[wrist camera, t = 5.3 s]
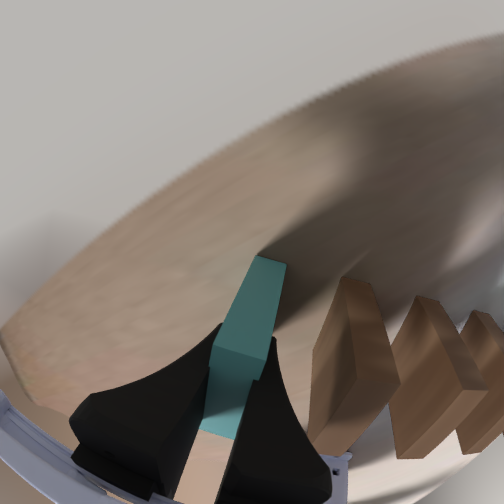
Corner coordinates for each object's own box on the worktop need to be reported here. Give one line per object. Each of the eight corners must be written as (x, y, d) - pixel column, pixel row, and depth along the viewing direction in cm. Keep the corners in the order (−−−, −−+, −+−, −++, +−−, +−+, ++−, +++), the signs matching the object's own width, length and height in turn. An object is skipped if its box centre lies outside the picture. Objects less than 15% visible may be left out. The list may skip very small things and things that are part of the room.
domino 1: (286, 264, 14) (266, 360, 8) (262, 339, 16) (234, 440, 10) (255, 255, 14) (212, 344, 8) (236, 332, 16) (197, 428, 10)
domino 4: (489, 314, 13) (539, 389, 7) (451, 373, 15) (480, 452, 9) (473, 310, 13) (524, 390, 7) (435, 371, 15) (462, 455, 9)
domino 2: (370, 284, 14) (401, 384, 8) (338, 355, 16) (340, 456, 10) (341, 276, 14) (357, 378, 8) (312, 350, 16) (305, 452, 10)
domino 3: (438, 301, 13) (489, 390, 7) (401, 366, 15) (423, 458, 9) (416, 295, 14) (463, 389, 7) (380, 363, 16) (396, 459, 9)
